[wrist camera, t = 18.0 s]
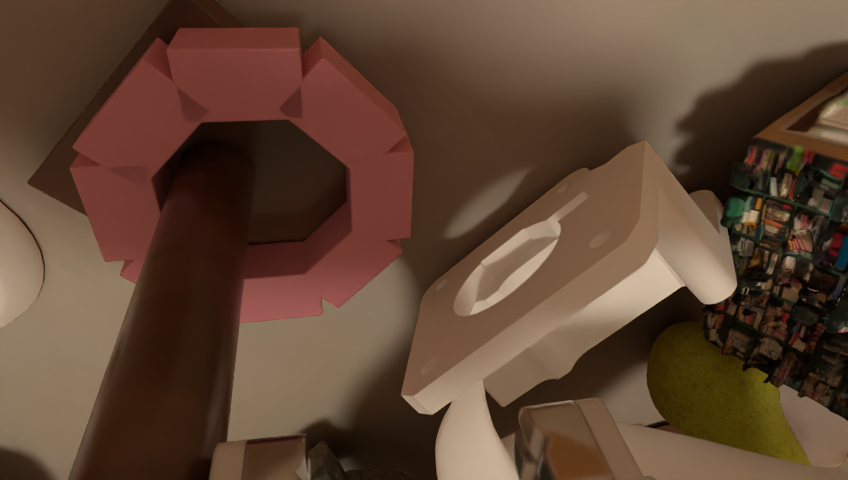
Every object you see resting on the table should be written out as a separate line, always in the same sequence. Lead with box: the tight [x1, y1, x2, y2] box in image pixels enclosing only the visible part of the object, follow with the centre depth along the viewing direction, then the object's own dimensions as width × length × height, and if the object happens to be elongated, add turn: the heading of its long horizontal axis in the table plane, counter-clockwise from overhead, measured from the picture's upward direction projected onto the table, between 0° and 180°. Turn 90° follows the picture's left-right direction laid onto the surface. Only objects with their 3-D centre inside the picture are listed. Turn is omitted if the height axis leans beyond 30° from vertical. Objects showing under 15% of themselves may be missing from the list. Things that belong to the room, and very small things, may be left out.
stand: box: [28, 0, 347, 480], centre depth 14 cm, size 8×8×14 cm
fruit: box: [647, 321, 811, 466], centre depth 25 cm, size 6×6×12 cm
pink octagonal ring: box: [70, 28, 414, 323], centre depth 17 cm, size 10×10×2 cm
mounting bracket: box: [401, 140, 737, 415], centre depth 20 cm, size 12×6×11 cm, turn 131°
